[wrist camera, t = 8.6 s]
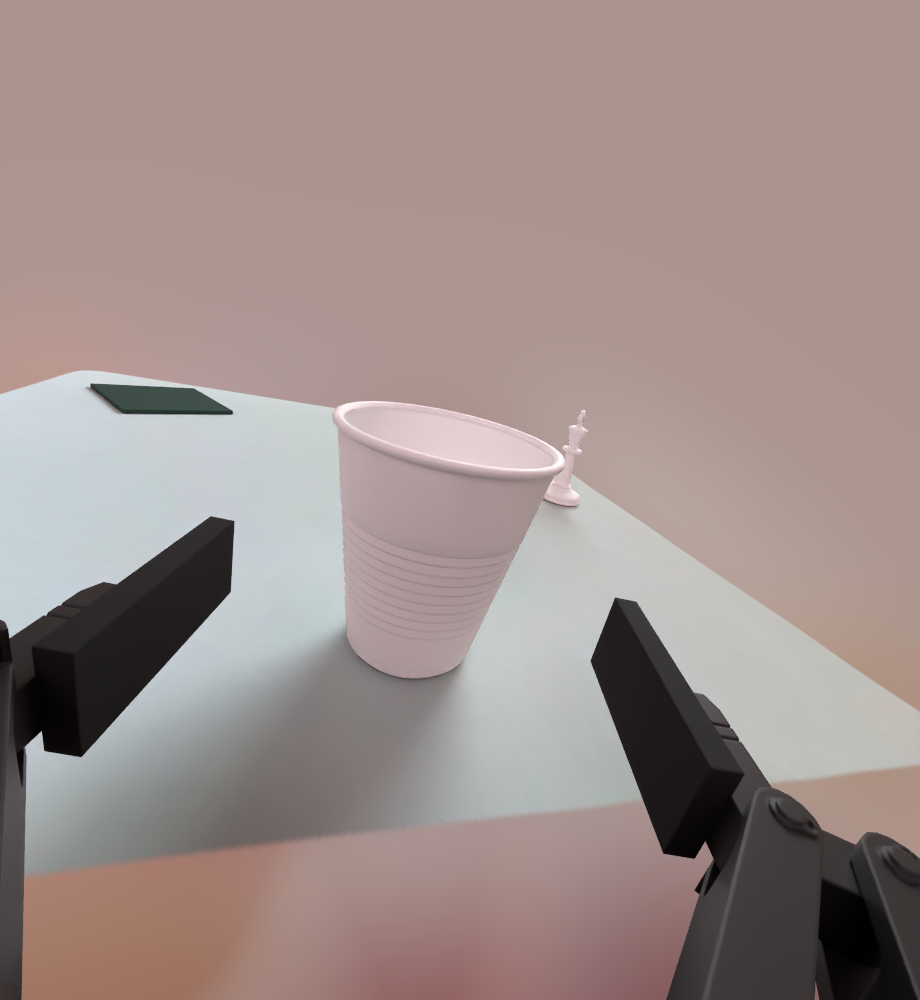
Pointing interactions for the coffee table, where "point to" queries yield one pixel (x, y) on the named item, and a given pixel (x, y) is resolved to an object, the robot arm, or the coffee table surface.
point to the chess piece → (568, 468)
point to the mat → (159, 400)
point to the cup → (430, 527)
